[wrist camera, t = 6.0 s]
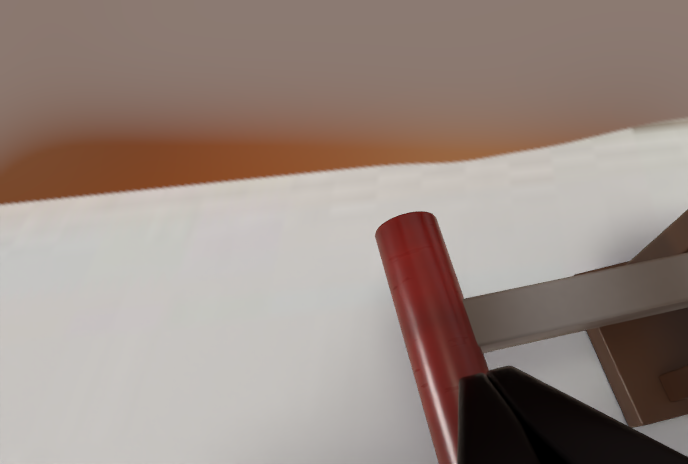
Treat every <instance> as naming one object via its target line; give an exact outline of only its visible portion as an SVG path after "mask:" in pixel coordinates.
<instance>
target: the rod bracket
mask: <svg viewBox="0 0 688 464" xmlns="http://www.w3.org/2000/svg"><path fill="white" fill-rule="evenodd" d="M683 253H688V210H687V211H685V212H684V213H683V214H682V215H681V216H680V217H679V218H678V219H677V220H675V221H674V222H673V223H672V224H671V225H670V226H669V227H668V228H667V229H665V230H664V231H663V232H662V233H661V234H660V235H659V236H658V237H656V238H655V239H654V240H653V241H652V242H651V243H650V244H649V245H648V246H646V247H645V248H644V249H643V250H642V251H641V252H640V253H639V254H637V255H636V256H635V257H634V258H633V259H632V260H631V261H628V262H624V263H620V264H616V265H612V266H608V267H604V268H600V269H596V270H592V271H588V272H583V273H579V274H575V275H574V276H577V275H582V274H587V273H591V272H596V271H601V270H606V269H611V268H616V267H620V266H625V265H630V264H635V263H640V262H645V261H649V260H654V259H659V258H664V257H669V256H674V255H678V254H683ZM586 331H587V333H588V335H589V338H590V340H591V342H592V344H593V347H594V349H595V351H596V353H597V356H598V358H599V360H600V362H601V365H602V367H603V369H604V371H605V374H606V376H607V378H608V381H609V383H610V385H611V387H612V390H613V392H614V394H615V396H616V399H617V401H618V403H619V405H620V408H621V410H622V412H623V414H624V417H625V419H626V421H627V423H628V426H629V427H631V428H633V427H638V426H644V425H648V424H652V423H656V422H660V421H664V420H667V419H671V418H675V417H679V416H683V415H687V414H688V307H687V308H683V309H678V310H674V311H669V312H665V313H661V314H656V315H652V316H647V317H643V318H638V319H634V320H629V321H625V322H620V323H616V324H611V325H607V326H602V327H598V328H594V329H589V330H586Z"/></svg>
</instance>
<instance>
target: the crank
mask: <svg viewBox="0 0 688 464" xmlns="http://www.w3.org/2000/svg"><path fill="white" fill-rule="evenodd" d="M375 238H376V241H377V245H378V249H379V252H380V256H381V259H382V263H383V266H384V270H385V274H386V277H387V281H388V284H389V288H390V291H391V295H392V298H393V302H394V306H395V309H396V313H397V316H398V320H399V323H400V327H401V331H402V334H403V338H404V341H405V345H406V348H407V352H408V355H409V359H410V363H411V366H412V370H413V373H414V377H415V380H416V384H417V388H418V391H419V395H420V398H421V402H422V405H423V409H424V412H425V416H426V420H427V423H428V427H429V430H430V434H431V437H432V441H433V445H434V448H435V452H436V455H437V459H438V462H439V464H457V448H458V389H459V379H460V378H462V377H465V376H469V375H473V374H477V373H484V374H485V375H486V373H487V371H489V369H488V367H487V364H486V361H485V358H484V355H483V353H486V352H491V351H495V350H500V349H504V348H509V347H513V346H518V345H522V344H527V343H531V342H536V341H540V340H544V339H549V338H553V337H558V336H562V335H567V334H571V333H576V332H580V331H585V330H589V329H594V328H598V327H602V326H607V325H611V324H616V323H620V322H625V321H629V320H634V319H638V318H643V317H647V316H652V315H656V314H661V313H665V312H669V311H674V310H678V309H683V308H687V307H688V253H683V254H678V255H674V256H669V257H664V258H659V259H654V260H649V261H645V262H640V263H635V264H630V265H625V266H620V267H616V268H611V269H606V270H601V271H596V272H591V273H587V274H582V275H577V276H572V277H567V278H562V279H558V280H553V281H548V282H543V283H538V284H533V285H529V286H524V287H519V288H514V289H509V290H504V291H500V292H495V293H490V294H485V295H480V296H475V297H471V298H466V299H464V297H463V294H462V291H461V288H460V285H459V283H458V280H457V277H456V274H455V271H454V268H453V265H452V262H451V259H450V256H449V254H448V251H447V248H446V245H445V242H444V239H443V236H442V233H441V230H440V227H439V225H438V222H437V219H436V217H435V216H434V215H433V214H431V213H429V212H410V213H406V214H402V215H399V216H396V217H394V218H392V219H390V220H388V221H386V222H385V223H383V224H382V225H381V226H380V227H379V228H378V229H377V231H376V234H375Z"/></svg>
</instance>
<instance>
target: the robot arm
mask: <svg viewBox="0 0 688 464" xmlns="http://www.w3.org/2000/svg"><path fill="white" fill-rule="evenodd" d="M457 464H688V457H687V456H685V455H683V454H681V453H679V452H677V451H675V450H673V449H671V448H669V447H667V446H665V445H663V444H661V443H660V442H658V441H656V440H654V439H652V438H650V437H648V436H646V435H644V434H642V433H640V432H638V431H636V430H634V429H633V428H631V427H629V426H627V425H625V424H623V423H621V422H619V421H617V420H615V419H613V418H611V417H609V416H607V415H606V414H604V413H602V412H600V411H598V410H596V409H594V408H592V407H590V406H588V405H586V404H584V403H582V402H581V401H579V400H577V399H575V398H573V397H571V396H569V395H567V394H565V393H563V392H561V391H559V390H557V389H555V388H554V387H552V386H550V385H548V384H546V383H544V382H542V381H540V380H538V379H536V378H534V377H532V376H530V375H528V374H527V373H525V372H523V371H521V370H519V369H517V368H515V367H513V366H505V367H501V368H497V369H493V370H489V371H487V373H486V375H485V374H484V373H477V374H473V375H469V376H465V377H462V378H460V379H459V389H458V448H457Z"/></svg>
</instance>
